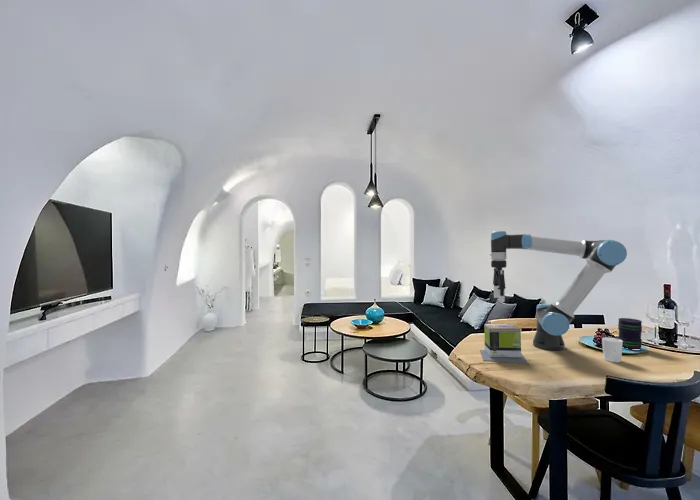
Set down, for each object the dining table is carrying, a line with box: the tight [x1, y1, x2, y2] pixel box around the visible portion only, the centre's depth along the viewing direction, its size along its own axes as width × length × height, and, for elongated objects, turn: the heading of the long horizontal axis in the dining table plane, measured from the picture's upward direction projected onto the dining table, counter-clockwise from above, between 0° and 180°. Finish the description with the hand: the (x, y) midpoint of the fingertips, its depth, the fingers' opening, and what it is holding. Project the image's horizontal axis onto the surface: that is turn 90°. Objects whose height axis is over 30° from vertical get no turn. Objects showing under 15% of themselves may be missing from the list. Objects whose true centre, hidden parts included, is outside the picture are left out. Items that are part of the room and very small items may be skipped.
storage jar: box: [617, 317, 643, 350], centre depth 185 cm, size 10×10×15 cm
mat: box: [479, 349, 530, 365], centre depth 172 cm, size 20×16×1 cm
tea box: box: [483, 323, 522, 358], centre depth 175 cm, size 15×10×15 cm
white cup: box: [601, 336, 623, 363], centre depth 166 cm, size 8×8×10 cm
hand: (499, 299), depth 185 cm, fingers open, 13 cm apart
